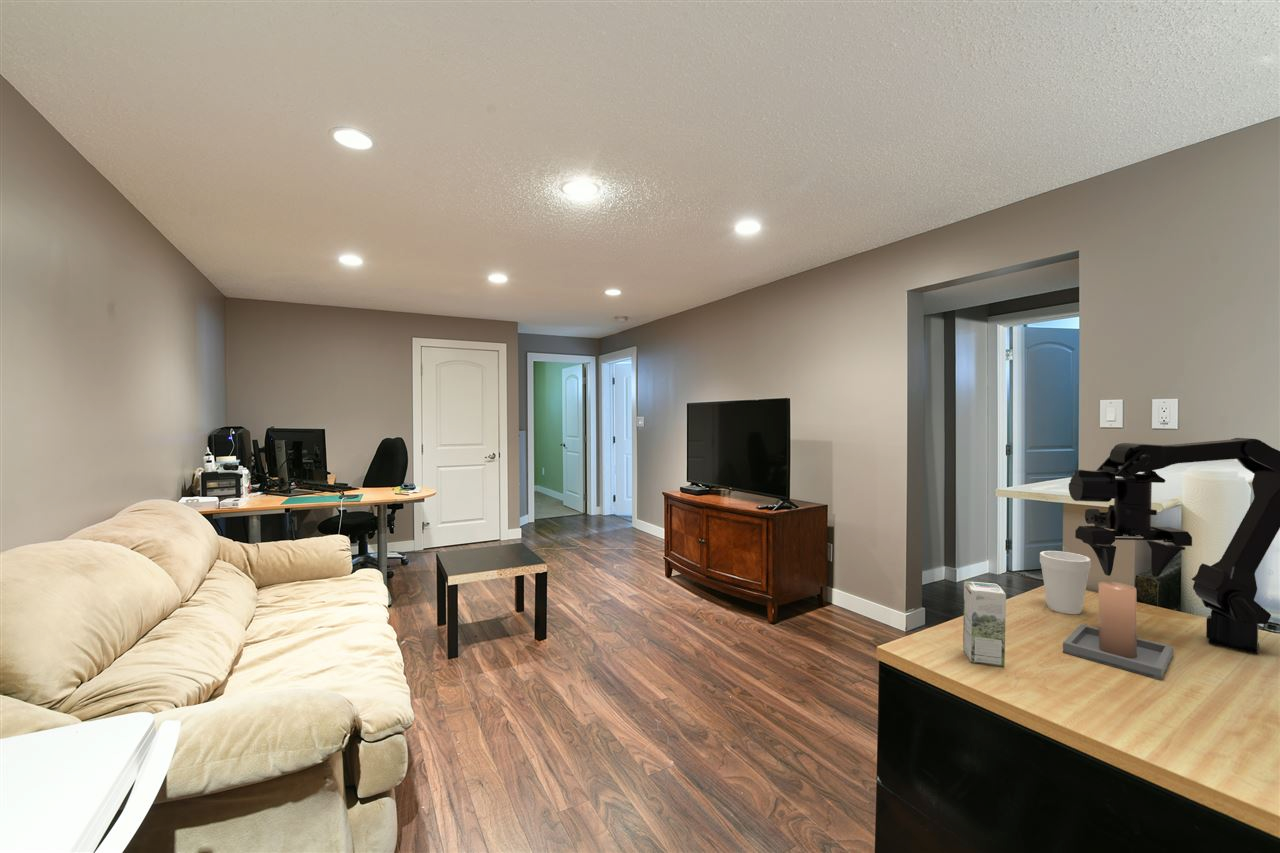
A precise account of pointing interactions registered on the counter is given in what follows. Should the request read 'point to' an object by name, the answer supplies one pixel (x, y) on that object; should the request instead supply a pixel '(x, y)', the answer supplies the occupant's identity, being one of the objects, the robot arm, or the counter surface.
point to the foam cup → (1065, 580)
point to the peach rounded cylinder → (1118, 619)
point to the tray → (1147, 662)
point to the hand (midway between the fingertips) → (1131, 575)
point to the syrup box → (984, 623)
